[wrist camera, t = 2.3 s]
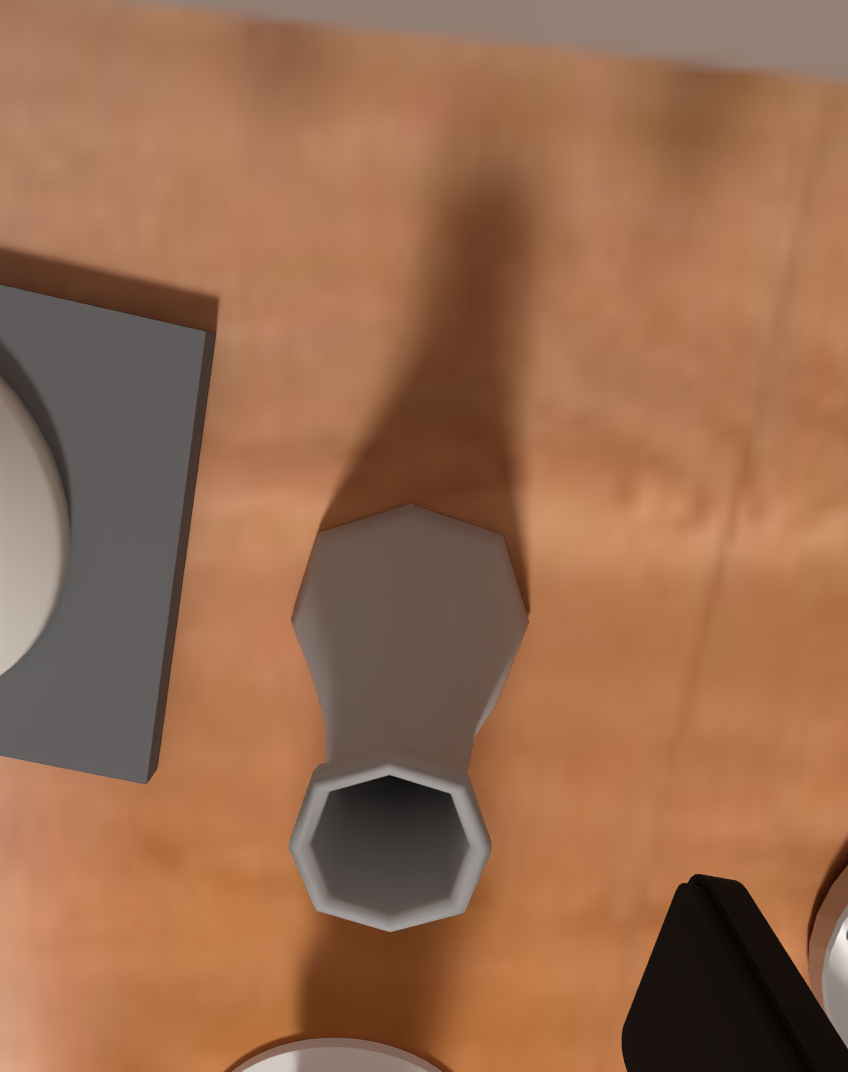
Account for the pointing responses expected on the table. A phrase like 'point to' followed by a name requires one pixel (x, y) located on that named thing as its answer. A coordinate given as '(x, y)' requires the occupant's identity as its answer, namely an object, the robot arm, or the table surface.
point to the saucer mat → (93, 526)
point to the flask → (401, 711)
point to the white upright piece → (335, 1058)
